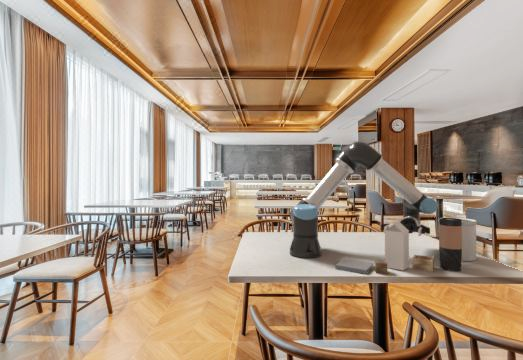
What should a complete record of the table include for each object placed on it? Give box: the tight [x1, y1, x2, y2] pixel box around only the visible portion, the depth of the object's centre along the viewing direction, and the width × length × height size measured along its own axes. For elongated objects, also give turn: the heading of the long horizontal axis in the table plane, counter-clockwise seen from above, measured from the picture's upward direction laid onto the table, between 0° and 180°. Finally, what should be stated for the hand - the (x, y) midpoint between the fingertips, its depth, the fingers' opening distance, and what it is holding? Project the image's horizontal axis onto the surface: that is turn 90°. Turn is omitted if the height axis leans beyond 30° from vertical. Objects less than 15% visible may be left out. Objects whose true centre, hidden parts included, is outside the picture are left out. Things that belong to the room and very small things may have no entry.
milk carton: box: [384, 219, 410, 271], centre depth 117 cm, size 7×7×19 cm
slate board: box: [334, 258, 375, 275], centre depth 117 cm, size 12×12×2 cm
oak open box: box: [411, 254, 435, 273], centre depth 116 cm, size 7×7×4 cm
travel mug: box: [438, 217, 463, 272], centre depth 115 cm, size 8×8×20 cm
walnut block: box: [374, 259, 388, 275], centre depth 111 cm, size 4×4×4 cm
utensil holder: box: [437, 217, 478, 262], centre depth 132 cm, size 15×15×18 cm
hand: (401, 231), depth 125 cm, fingers open, 13 cm apart
